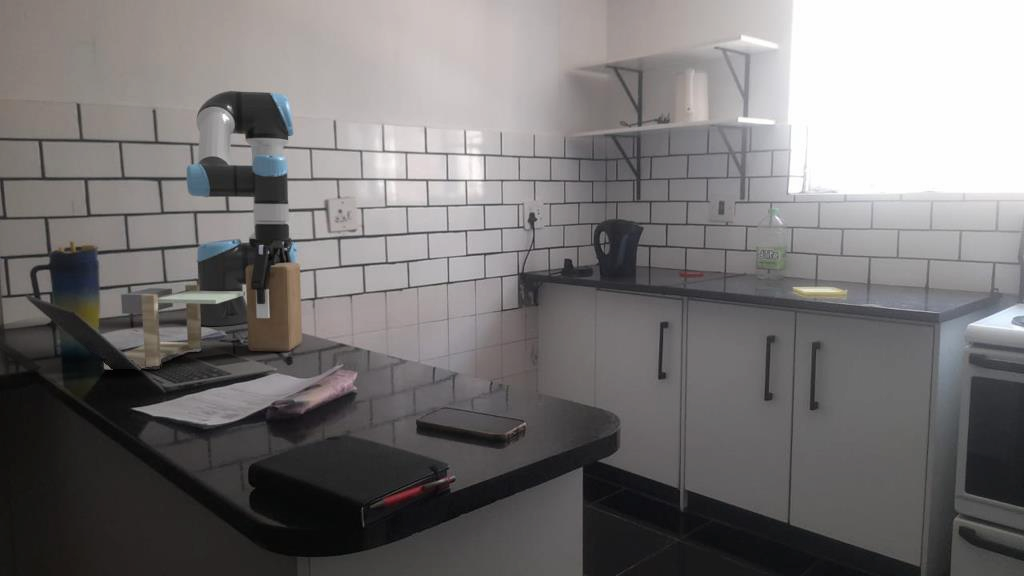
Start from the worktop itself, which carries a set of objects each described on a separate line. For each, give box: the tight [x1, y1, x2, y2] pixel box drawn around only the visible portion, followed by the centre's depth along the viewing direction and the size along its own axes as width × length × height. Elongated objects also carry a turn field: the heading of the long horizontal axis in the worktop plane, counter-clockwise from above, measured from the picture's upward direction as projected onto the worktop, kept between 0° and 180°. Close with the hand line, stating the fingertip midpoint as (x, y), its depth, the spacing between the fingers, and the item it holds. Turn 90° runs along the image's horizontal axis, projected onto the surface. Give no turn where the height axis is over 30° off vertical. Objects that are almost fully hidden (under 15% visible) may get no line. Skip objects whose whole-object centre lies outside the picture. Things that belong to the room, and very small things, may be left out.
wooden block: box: [245, 262, 303, 353], centre depth 172 cm, size 10×10×20 cm
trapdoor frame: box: [103, 283, 203, 370], centre depth 158 cm, size 19×11×16 cm, turn 176°
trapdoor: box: [120, 287, 246, 315], centre depth 157 cm, size 14×21×4 cm, turn 86°
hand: (274, 313), depth 172 cm, fingers open, 13 cm apart
